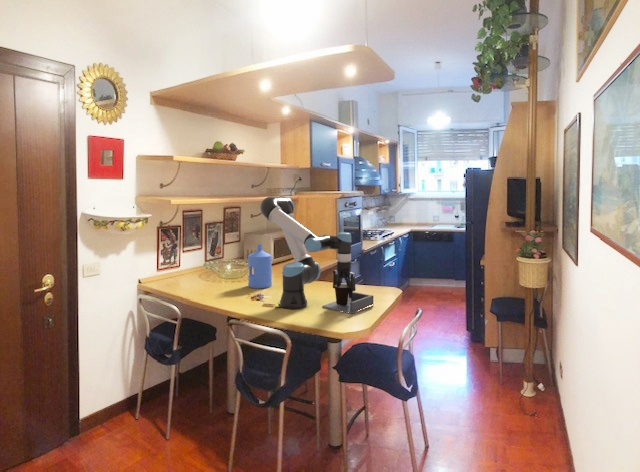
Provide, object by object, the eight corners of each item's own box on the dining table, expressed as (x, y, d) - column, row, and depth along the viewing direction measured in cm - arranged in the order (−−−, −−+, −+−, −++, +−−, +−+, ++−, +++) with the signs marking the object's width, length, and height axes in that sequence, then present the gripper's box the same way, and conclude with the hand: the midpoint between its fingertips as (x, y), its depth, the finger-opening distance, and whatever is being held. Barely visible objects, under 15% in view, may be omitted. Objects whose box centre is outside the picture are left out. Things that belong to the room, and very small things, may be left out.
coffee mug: (346, 306, 227) (346, 288, 226) (331, 304, 231) (331, 286, 230) (354, 301, 238) (355, 284, 237) (340, 299, 242) (341, 282, 240)
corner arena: (352, 314, 220) (352, 302, 219) (322, 307, 233) (322, 296, 232) (373, 306, 235) (373, 295, 235) (344, 300, 248) (344, 290, 247)
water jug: (274, 283, 291) (273, 243, 288) (269, 289, 276) (268, 246, 273) (251, 283, 293) (251, 243, 290) (245, 288, 277) (244, 246, 274)
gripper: (362, 262, 229) (362, 304, 231) (334, 258, 241) (334, 298, 243) (354, 263, 223) (354, 306, 225) (326, 260, 235) (325, 300, 237)
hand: (343, 302), depth 234 cm, fingers closed on coffee mug, 6 cm apart
